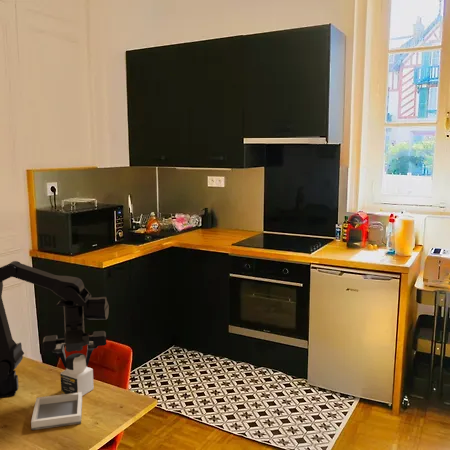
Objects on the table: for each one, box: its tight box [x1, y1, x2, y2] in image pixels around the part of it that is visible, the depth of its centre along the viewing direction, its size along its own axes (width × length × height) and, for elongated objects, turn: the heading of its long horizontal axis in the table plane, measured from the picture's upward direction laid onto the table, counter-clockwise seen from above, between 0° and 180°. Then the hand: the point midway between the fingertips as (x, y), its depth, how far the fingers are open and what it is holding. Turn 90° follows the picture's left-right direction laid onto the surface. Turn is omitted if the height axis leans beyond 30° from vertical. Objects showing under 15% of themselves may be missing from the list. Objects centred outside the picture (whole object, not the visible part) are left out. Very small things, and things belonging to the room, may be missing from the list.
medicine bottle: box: [59, 352, 95, 397], centre depth 152 cm, size 7×7×12 cm
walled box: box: [30, 392, 83, 431], centre depth 140 cm, size 13×13×2 cm
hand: (76, 366), depth 151 cm, fingers closed on medicine bottle, 6 cm apart
